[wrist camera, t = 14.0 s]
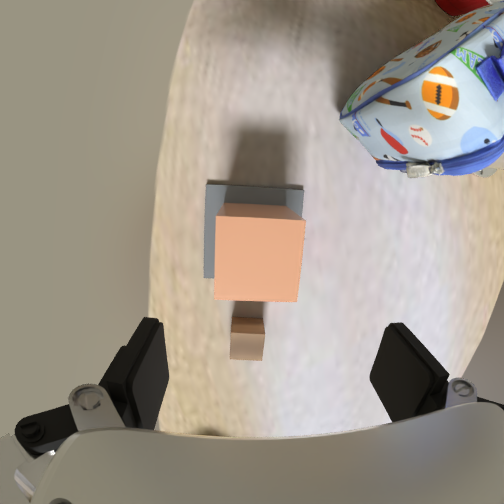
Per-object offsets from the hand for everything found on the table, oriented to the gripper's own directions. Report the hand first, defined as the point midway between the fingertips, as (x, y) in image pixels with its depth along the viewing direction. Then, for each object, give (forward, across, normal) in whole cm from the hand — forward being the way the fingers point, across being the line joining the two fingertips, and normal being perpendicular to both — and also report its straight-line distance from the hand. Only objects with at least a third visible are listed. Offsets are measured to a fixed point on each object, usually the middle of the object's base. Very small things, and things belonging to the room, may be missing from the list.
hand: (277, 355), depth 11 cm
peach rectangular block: (+22, 0, 0) cm, 22 cm away
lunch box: (+23, -19, -20) cm, 36 cm away
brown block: (+23, 0, +13) cm, 27 cm away
